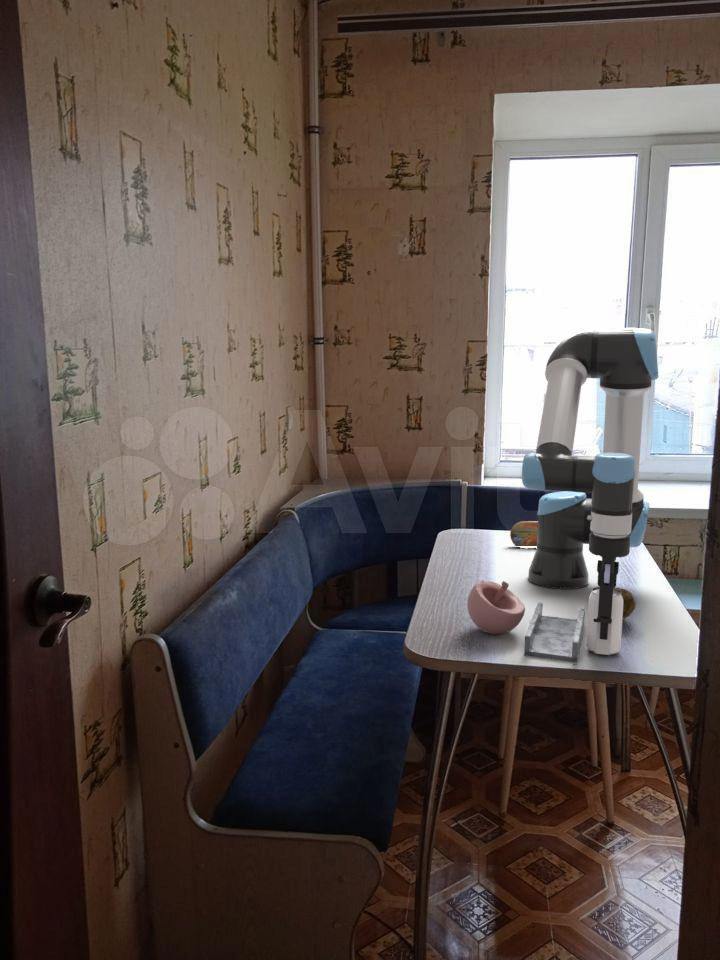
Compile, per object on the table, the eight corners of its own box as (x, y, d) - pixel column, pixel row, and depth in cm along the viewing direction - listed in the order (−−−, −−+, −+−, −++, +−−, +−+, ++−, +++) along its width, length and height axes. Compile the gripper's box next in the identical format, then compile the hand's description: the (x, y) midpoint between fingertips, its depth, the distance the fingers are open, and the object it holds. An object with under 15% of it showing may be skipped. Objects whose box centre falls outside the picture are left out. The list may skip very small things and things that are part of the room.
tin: (510, 548, 232) (511, 521, 231) (508, 546, 235) (509, 519, 234) (560, 549, 232) (561, 522, 230) (558, 547, 235) (559, 520, 233)
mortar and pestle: (513, 646, 154) (515, 592, 152) (458, 635, 160) (459, 583, 158) (531, 628, 165) (533, 577, 163) (478, 618, 170) (479, 569, 169)
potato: (623, 610, 177) (625, 576, 175) (637, 630, 164) (640, 594, 163) (586, 609, 177) (588, 575, 176) (598, 628, 165) (600, 592, 163)
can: (619, 657, 148) (623, 597, 145) (584, 652, 150) (587, 593, 148) (621, 645, 153) (624, 588, 151) (587, 641, 156) (590, 584, 154)
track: (537, 619, 170) (538, 602, 170) (584, 624, 167) (585, 607, 166) (524, 655, 150) (524, 636, 149) (576, 662, 146) (577, 642, 146)
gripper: (592, 521, 158) (586, 627, 162) (586, 543, 140) (580, 663, 144) (630, 524, 155) (624, 632, 159) (630, 547, 137) (622, 668, 141)
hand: (603, 646), depth 152 cm, fingers closed on can, 6 cm apart
